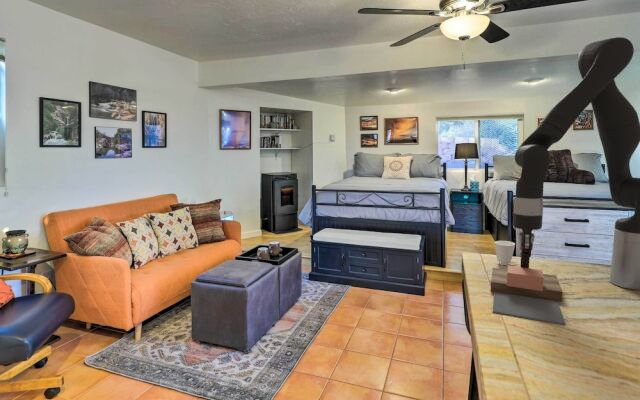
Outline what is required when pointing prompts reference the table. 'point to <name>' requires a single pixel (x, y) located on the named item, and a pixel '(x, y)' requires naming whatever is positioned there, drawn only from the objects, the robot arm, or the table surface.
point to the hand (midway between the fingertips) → (524, 267)
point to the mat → (528, 308)
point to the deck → (549, 289)
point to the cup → (504, 251)
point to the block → (525, 278)
